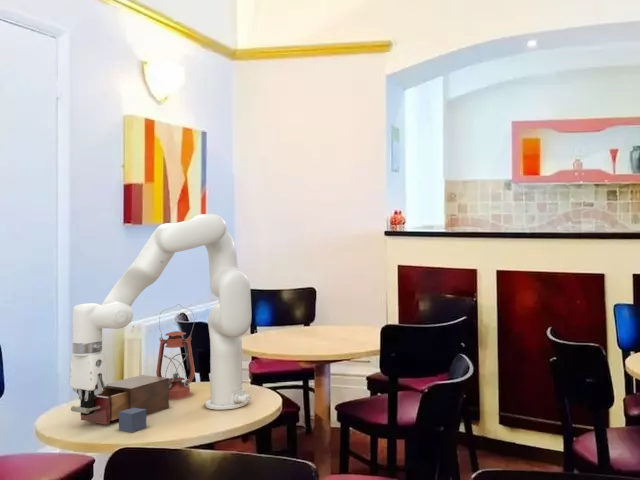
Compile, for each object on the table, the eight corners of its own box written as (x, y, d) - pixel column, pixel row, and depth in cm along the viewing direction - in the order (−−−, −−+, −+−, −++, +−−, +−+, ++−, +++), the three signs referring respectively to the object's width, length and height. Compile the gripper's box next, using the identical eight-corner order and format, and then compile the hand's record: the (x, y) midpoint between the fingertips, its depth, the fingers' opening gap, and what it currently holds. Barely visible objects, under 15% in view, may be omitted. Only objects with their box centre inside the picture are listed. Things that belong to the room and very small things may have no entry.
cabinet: (130, 420, 198) (130, 388, 198) (102, 415, 203) (102, 384, 203) (169, 407, 211) (168, 378, 211) (141, 403, 216) (141, 374, 216)
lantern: (183, 390, 232) (183, 301, 233) (197, 396, 225) (196, 304, 226) (155, 396, 226) (155, 304, 226) (168, 401, 218) (167, 307, 219)
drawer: (91, 429, 186) (91, 402, 187) (65, 424, 191) (65, 398, 191) (144, 412, 203) (144, 387, 203) (119, 408, 207) (119, 384, 208)
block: (146, 427, 190) (146, 409, 191) (131, 432, 186) (131, 414, 186) (133, 425, 193) (133, 407, 193) (118, 430, 188) (118, 412, 188)
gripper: (117, 347, 192) (117, 413, 192) (81, 344, 199) (80, 408, 198) (94, 352, 185) (94, 420, 185) (57, 348, 192) (57, 414, 191)
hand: (87, 414), depth 191 cm, fingers closed
